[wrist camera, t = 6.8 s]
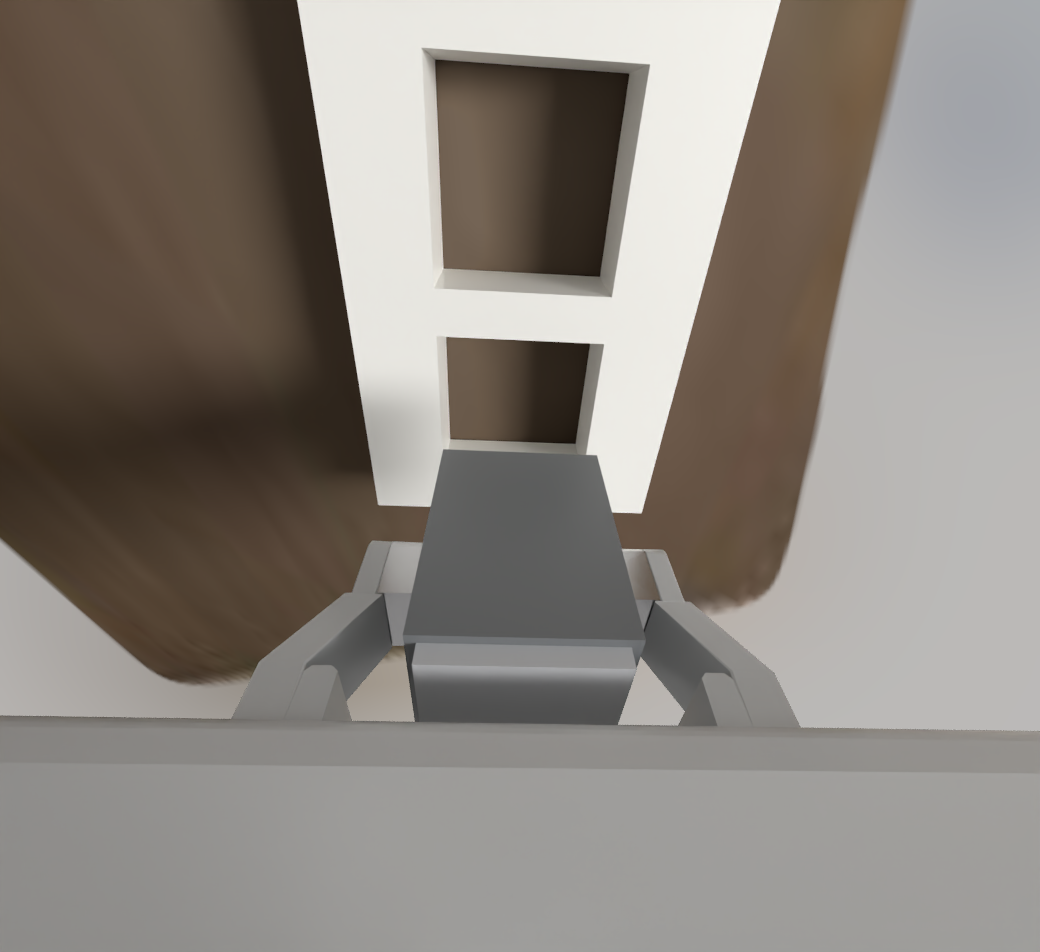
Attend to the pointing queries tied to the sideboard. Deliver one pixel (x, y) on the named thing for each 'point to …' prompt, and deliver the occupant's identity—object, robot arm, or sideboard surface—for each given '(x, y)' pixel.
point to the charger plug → (521, 595)
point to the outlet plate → (511, 295)
